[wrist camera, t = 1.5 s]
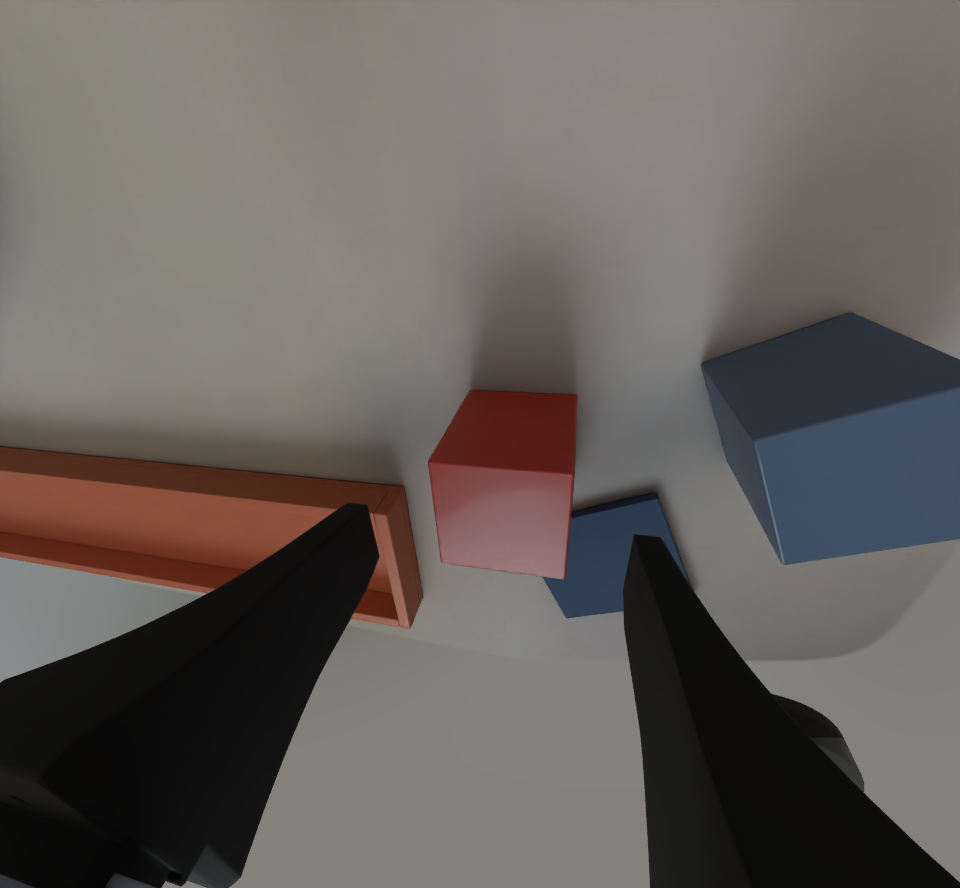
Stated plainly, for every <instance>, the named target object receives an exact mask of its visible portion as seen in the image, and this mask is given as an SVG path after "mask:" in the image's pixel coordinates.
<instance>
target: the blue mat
mask: <svg viewBox="0 0 960 888" xmlns="http://www.w3.org/2000/svg"><path fill="white" fill-rule="evenodd" d="M634 534H638V535H647V536H656V537H661V539H662V540H663V541H664V542H665V544H666V546H667V548H668V550H669V551H670V553H671V555H672V557H673V558H674V560H675V562H676V563H677V565H678V567H679V568H680V570H681V572H682V573H683V575H684V576H685V578H686V580H687V581H688V583H689V584H690V582H689V579H688V576H687V574H686V571H685V568H684V565H683V563H682V560H681V557H680V555H679V552H678V549H677V547H676V544H675V541H674V538H673V536H672V533H671V530H670V528H669V525H668V522H667V519H666V517H665V514H664V511H663V509H662V506H661V503H660V500H659V498H658V495H657V493H652V494H648V495H644V496H639V497H635V498H631V499H626V500H622V501H618V502H614V503H609V504H605V505H601V506H597V507H592V508H588V509H584V510H579V511H575V512H571V522H570V533H569V544H568V556H567V567H566V578H565V579H556V578H549V577H543V578H544V580H545V581H546V583H547V585H548V587H549V589H550V590H551V592H552V594H553V596H554V597H555V599H556V601H557V603H558V605H559V606H560V608H561V610H562V612H563V613H564V615H565V617H566V618H573V617H581V616H589V615H597V614H605V613H613V612H620V611H624V609H623V586H624V581H625V576H626V571H627V566H628V561H629V556H630V551H631V546H632V541H633V535H634ZM690 586H691V584H690ZM691 588H692V587H691Z"/></svg>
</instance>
